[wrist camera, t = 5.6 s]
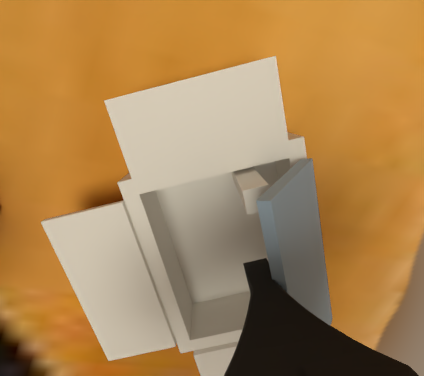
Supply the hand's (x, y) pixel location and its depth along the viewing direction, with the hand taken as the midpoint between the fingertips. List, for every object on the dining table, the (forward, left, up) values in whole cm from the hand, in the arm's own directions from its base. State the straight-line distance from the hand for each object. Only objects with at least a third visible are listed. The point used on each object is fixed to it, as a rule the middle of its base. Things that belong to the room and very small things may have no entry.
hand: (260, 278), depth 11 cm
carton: (0, +3, -5) cm, 6 cm away
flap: (0, -2, 0) cm, 2 cm away
